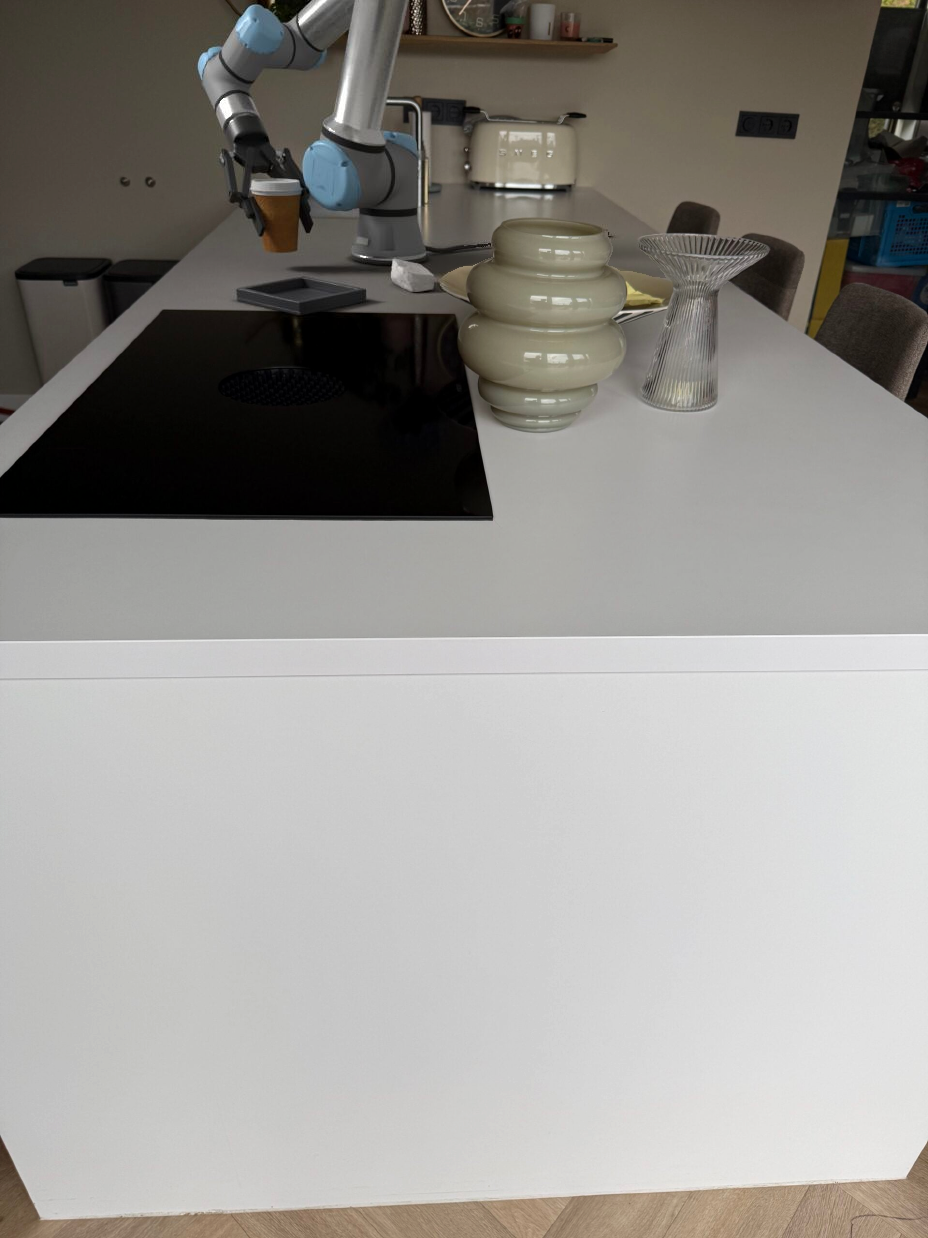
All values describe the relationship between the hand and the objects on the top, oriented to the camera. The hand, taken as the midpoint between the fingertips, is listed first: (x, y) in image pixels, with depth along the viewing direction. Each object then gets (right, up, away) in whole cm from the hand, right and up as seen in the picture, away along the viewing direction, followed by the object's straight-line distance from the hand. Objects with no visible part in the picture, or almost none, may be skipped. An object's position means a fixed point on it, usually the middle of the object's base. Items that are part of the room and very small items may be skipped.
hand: (286, 229), depth 170 cm
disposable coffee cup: (-2, -2, +4) cm, 5 cm away
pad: (+6, -19, -18) cm, 27 cm away
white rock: (+24, -13, -5) cm, 27 cm away
